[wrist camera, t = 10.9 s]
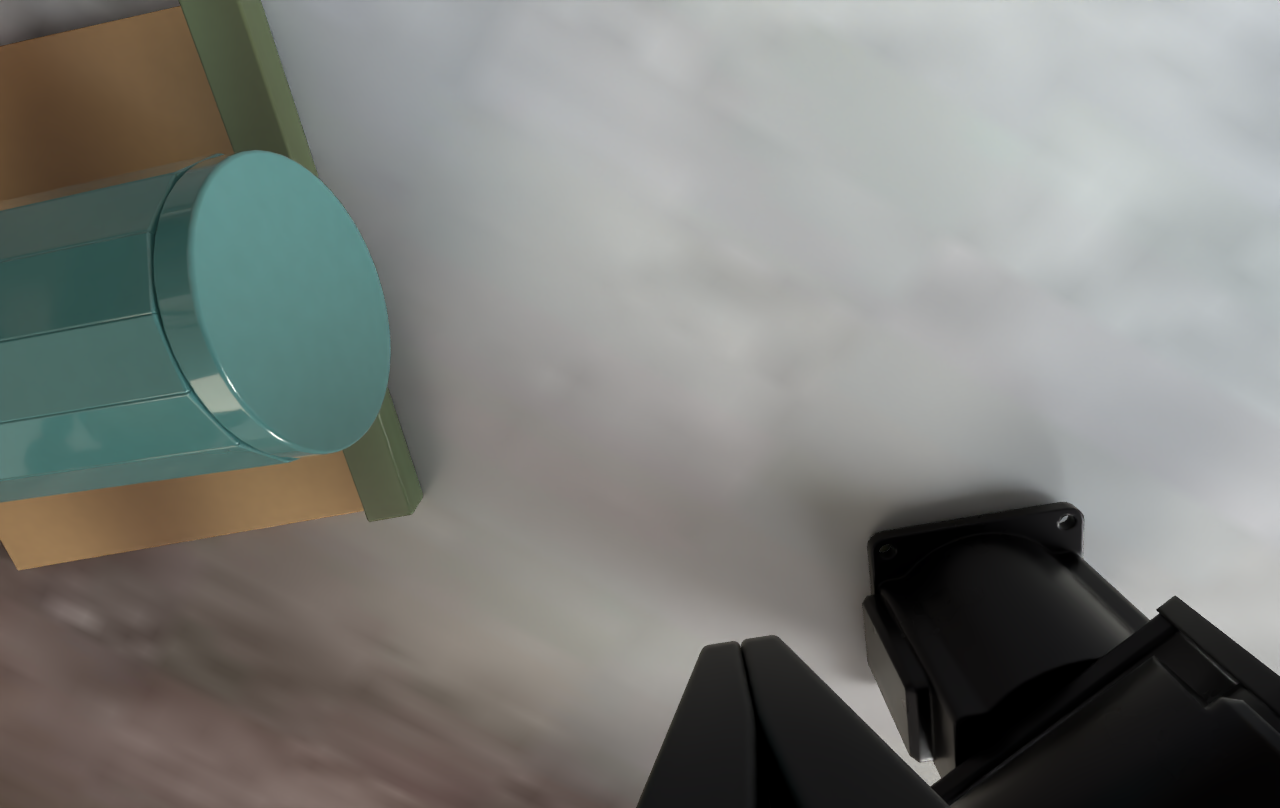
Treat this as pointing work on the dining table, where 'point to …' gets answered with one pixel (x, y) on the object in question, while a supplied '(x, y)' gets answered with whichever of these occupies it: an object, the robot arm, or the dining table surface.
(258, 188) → the cup
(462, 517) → the dining table surface
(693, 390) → the dining table surface
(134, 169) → the cork mat
